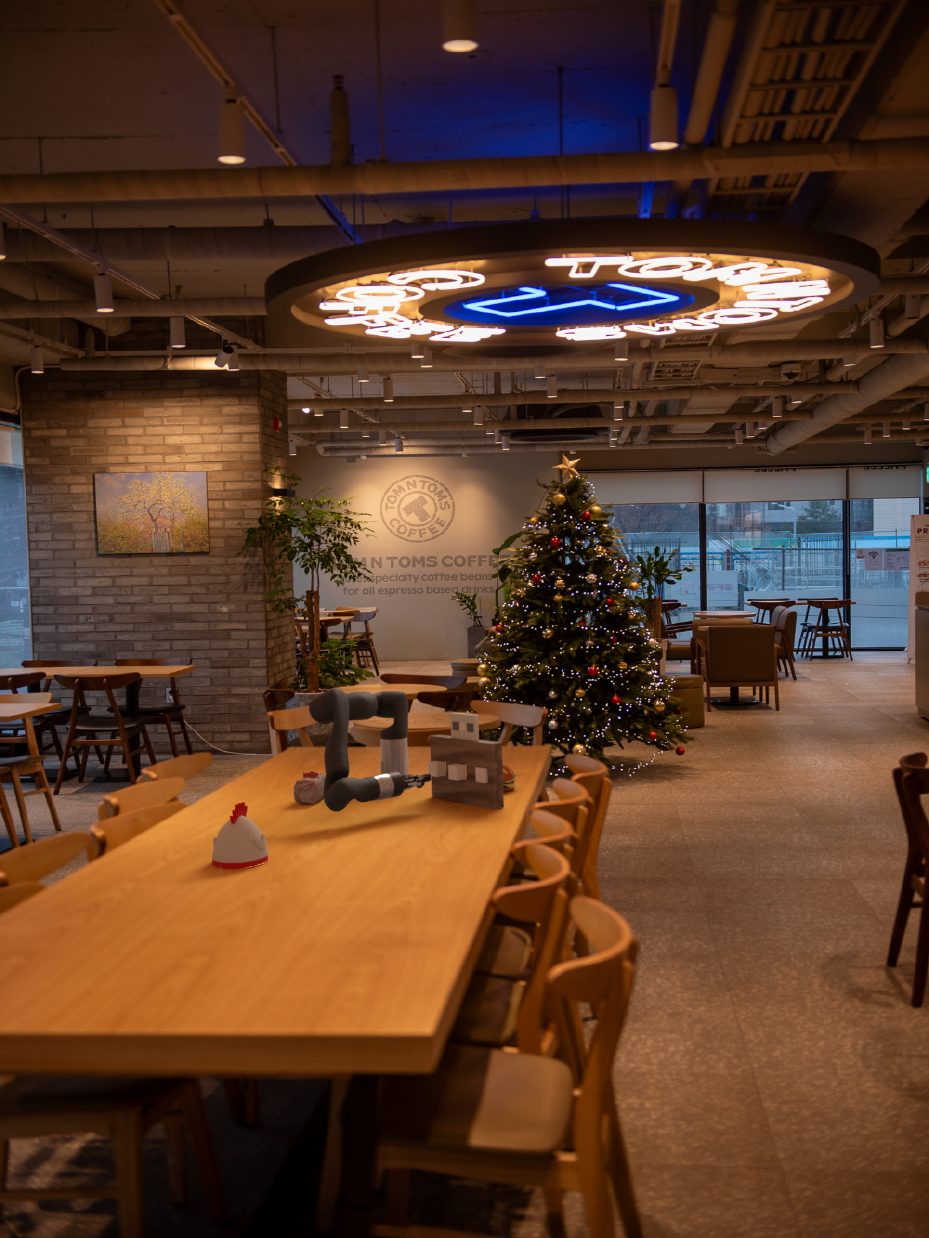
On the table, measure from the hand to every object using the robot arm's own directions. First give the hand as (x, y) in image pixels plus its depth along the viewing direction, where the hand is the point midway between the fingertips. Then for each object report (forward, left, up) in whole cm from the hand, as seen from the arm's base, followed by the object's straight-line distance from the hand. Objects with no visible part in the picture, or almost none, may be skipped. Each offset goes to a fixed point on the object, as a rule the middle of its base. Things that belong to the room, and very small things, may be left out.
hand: (429, 777), depth 331 cm
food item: (-39, +18, -10) cm, 44 cm away
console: (+11, +8, -10) cm, 17 cm away
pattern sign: (+11, +8, +10) cm, 17 cm away
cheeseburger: (+24, +27, -10) cm, 37 cm away
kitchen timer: (-48, -59, -10) cm, 76 cm away
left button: (+2, +14, -2) cm, 14 cm away
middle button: (+9, +6, -2) cm, 11 cm away
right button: (+17, 0, -2) cm, 17 cm away
